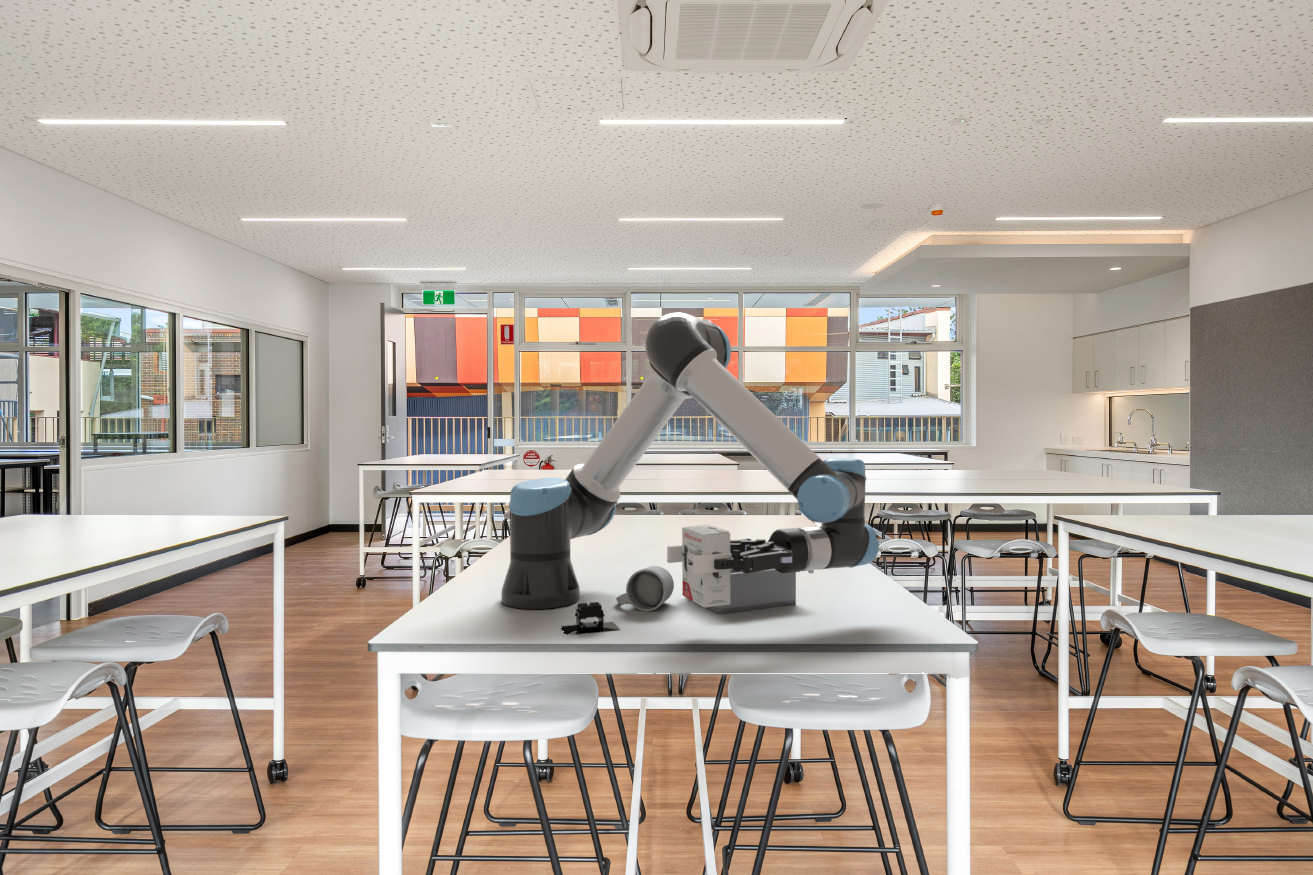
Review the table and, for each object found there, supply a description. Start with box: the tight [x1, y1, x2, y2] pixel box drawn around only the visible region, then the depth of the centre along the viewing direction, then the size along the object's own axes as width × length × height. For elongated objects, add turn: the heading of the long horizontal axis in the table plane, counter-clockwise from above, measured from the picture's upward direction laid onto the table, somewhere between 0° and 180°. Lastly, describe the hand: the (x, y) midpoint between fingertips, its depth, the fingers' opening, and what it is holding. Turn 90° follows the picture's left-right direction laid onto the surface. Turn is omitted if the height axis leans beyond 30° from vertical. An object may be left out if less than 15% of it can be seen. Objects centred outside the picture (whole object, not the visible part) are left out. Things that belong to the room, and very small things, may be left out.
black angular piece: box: [560, 601, 621, 636], centre depth 122 cm, size 12×7×5 cm, turn 107°
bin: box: [706, 568, 797, 615], centre depth 141 cm, size 14×17×7 cm
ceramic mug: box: [615, 565, 675, 612], centre depth 138 cm, size 11×8×8 cm
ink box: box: [681, 524, 731, 608], centre depth 118 cm, size 8×5×12 cm, turn 23°
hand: (680, 559), depth 116 cm, fingers closed on ink box, 9 cm apart
